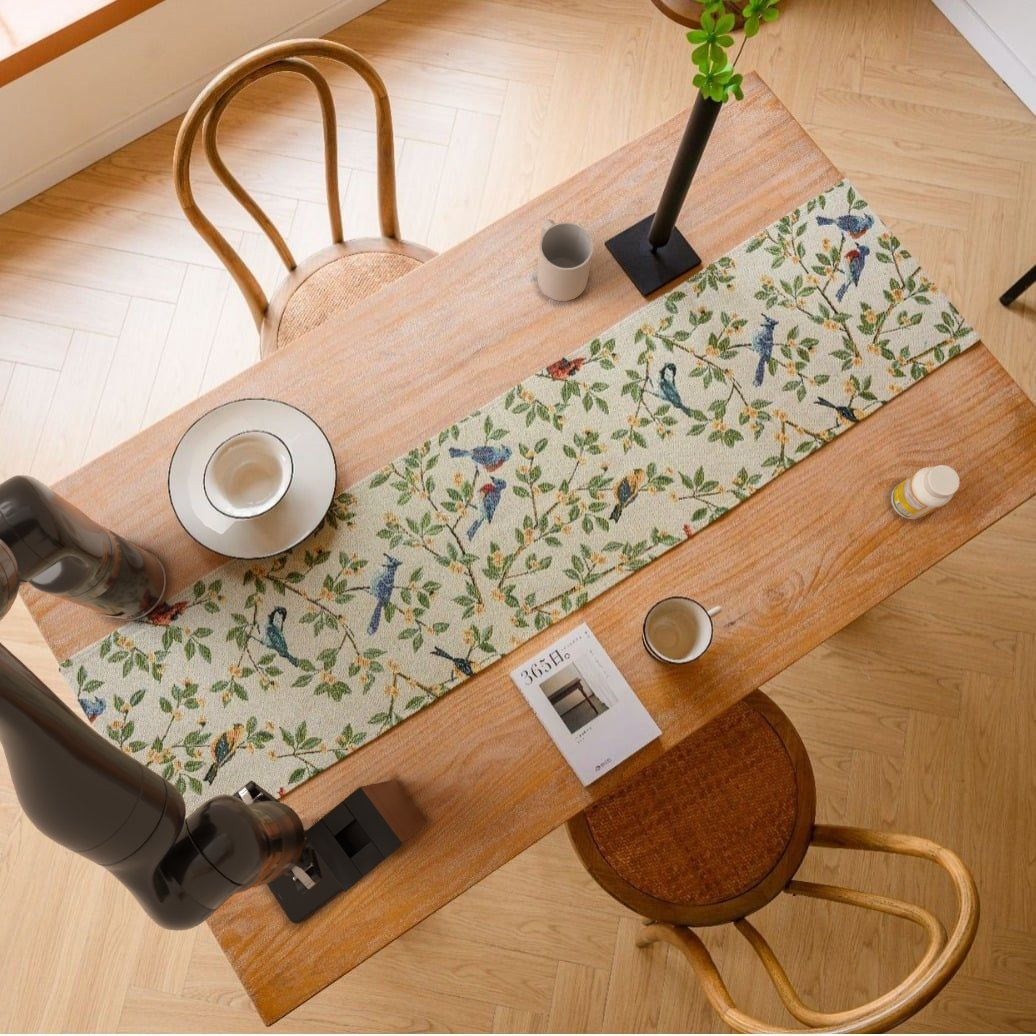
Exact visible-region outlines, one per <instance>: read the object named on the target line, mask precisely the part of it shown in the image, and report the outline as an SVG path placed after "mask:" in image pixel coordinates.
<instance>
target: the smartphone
mask: <svg viewBox="0 0 1036 1036" xmlns="http://www.w3.org/2000/svg"><path fill="white" fill-rule="evenodd" d="M309 846H310V847H311V848H313V847H312V845H311V844H310V843H308V844H307V845H306V848H308V847H309ZM400 848H401V846H399V847H398V848H397V849H396V850H395V851H394V852H396V851H397V850H399V849H400ZM313 849H314V848H313ZM394 852H392V853H391V854H390V855H389V856H391V855H392V854H393V853H394ZM315 853H316V857H317V860H318V864H319V868H320V871H321V875H322V879H321V880H320V881H319V882H317V883H316V884H315V885H314V886H313V887H311V888H310V889H309V890H308V891H307V892H306V893H304V894H302V893H301V892H299V891H298V889H297V886H296V882H295V881H294V879H293V877H294V875H292V876H287V875H285V874H283V875H281V876H279V877H277V878H276V879H275V880H274V881H272V882H270V883H268V884H266V885H267V887H268V888H269V890H270V892H271V893H272V895H273V897H274V898H275V900H276V901H277V903H278V905H279V906H280V907H281V909H282V911H283V912H284V914H285V916H286V917H287V918H288V920H289V922H291V923H293V924H294V925H298V924H301V923H303V922H304V921H306V920H307V919H308V918H310V917H311V916H313V915H314V914H315V913H316V912H318V911H319V910H321V909H322V908H323V907H325V906H326V905H327V904H328V903H330V902H331V901H332V900H333V899H335V898H336V897H337V896H338V895H340V894H341V893H342V892H345V891H344V890H343V888H342V887H341V885H340V884H339V883H338V881H337V880H336V879H335V877H334V876H333V874H332V873H331V872H330V870H329V869H328V867H327V866H326V865H325V863H324V862H323V861H322V859H321V858H320V856H319V855H318V854H317V852H316V851H315ZM387 858H388V857H386V858H385V859H387Z"/></svg>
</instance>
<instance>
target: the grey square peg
mask: <svg viewBox="0 0 1036 1036" xmlns="http://www.w3.org/2000/svg"><path fill="white" fill-rule="evenodd" d="M300 819H301V822H302V824H303V827H304V830H306V829H307V830H308V829H309V828H310V827H311V826H313V824H312V823H311V822H310V820H309V819H308V818H307V817H303V818H300Z"/></svg>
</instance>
